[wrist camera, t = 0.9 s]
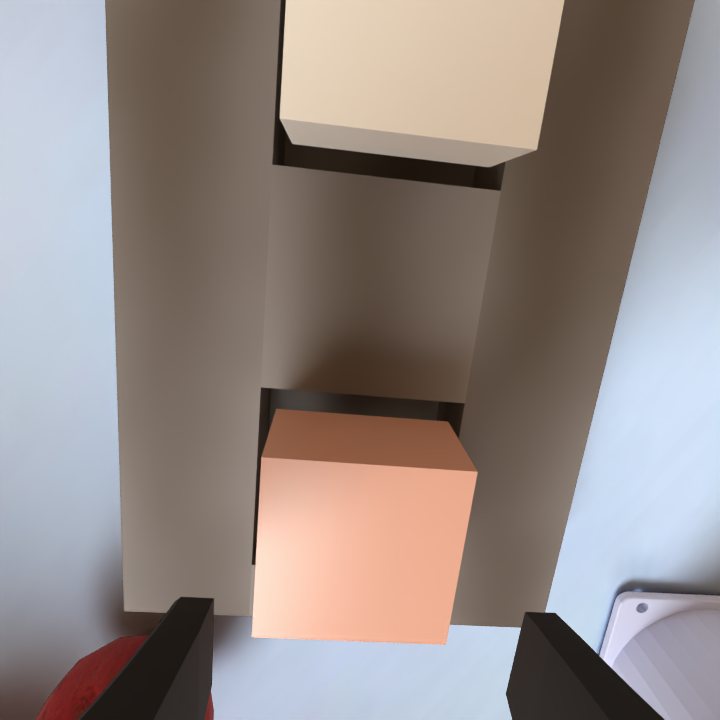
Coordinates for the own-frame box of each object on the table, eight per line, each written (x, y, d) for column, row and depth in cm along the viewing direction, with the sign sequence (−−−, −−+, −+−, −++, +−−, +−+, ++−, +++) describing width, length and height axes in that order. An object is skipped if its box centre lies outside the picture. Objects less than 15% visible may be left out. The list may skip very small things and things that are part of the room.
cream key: (526, -66, 11) (595, -168, 8) (489, 167, 12) (536, 150, 10) (307, -102, 11) (297, -222, 8) (292, 143, 12) (279, 118, 9)
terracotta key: (448, 421, 14) (477, 471, 11) (424, 566, 16) (445, 644, 13) (276, 408, 14) (261, 457, 11) (266, 558, 15) (251, 637, 12)
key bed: (640, -70, 14) (733, -159, 11) (506, 561, 20) (540, 628, 17) (156, -148, 13) (96, -275, 10) (160, 542, 19) (123, 611, 16)
